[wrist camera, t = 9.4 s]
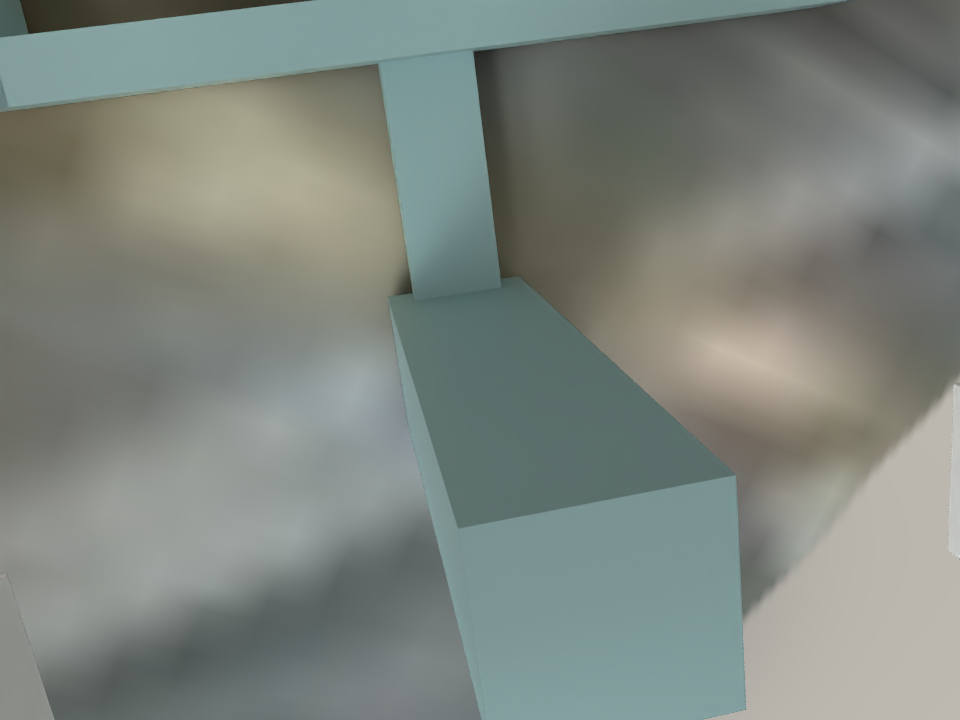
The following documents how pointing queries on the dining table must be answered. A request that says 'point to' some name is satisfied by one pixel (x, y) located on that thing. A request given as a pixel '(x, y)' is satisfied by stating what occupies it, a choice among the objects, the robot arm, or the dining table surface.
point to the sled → (490, 359)
